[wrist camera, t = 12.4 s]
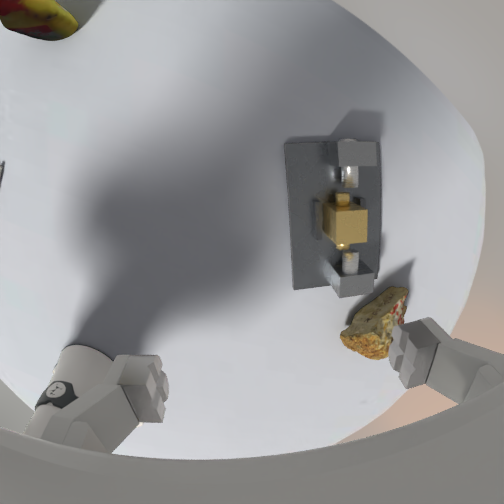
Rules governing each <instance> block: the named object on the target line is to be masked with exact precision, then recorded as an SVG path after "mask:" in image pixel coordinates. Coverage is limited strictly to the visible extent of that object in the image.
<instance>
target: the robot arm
mask: <svg viewBox="0 0 504 504" xmlns="http://www.w3.org/2000/svg"><path fill="white" fill-rule="evenodd" d="M391 336H392V337H393V339H394V340H393V342H392V343H391V344H390V346H389V352H388V355H389V361H390V364H391V366H392V368H393V369H394V370H395V371H398V372H400V374H399V379H400V380H401V382H402V384H403V385H404V387H405V388H406V389H409V388H412V387H416V386H419V385H422V384H426V385H427V386H429V387H431V388H432V389H434V390H436V391H437V392H439V393H441V394H443V395H444V396H446V397H448V398H449V399H451V400H453V401H454V402H456V403H458V404H459V405H456V406H454V407H452V408H450V409H447V410H445V411H443V412H440V413H438V414H435V415H433V416H430V417H428V418H425V419H422V420H420V421H417V422H414V423H411V424H408V425H405V426H403V427H399V428H396V429H393V430H390V431H387V432H383V433H380V434H377V435H373V436H369V437H366V438H362V439H358V440H354V441H350V442H346V443H341V444H337V445H332V446H328V447H323V448H317V449H312V450H306V451H300V452H293V453H286V454H279V455H271V456H261V457H250V458H236V459H210V460H185V459H159V458H145V457H134V456H125V455H117V454H111V453H112V452H113V451H114V450H115V449H116V448H117V447H118V446H119V445H120V444H121V443H122V441H123V440H124V439H125V438H126V437H127V436H128V435H129V434H130V433H131V432H132V431H133V430H134V429H135V428H137V427H140V426H142V425H143V423H144V422H150V423H163V418H164V414H165V409H166V408H165V406H164V402H165V401H166V400H167V399H168V394H169V384H168V379H167V376H166V374H165V373H164V372H163V371H162V370H161V368H162V361H161V359H160V356H158V355H118V356H116V357H115V359H114V361H112V360H111V359H110V358H108V357H107V356H106V355H104V354H103V353H101V352H99V351H97V350H95V349H93V348H90V347H87V346H82V345H72V346H68V347H66V348H65V349H63V351H62V352H61V354H60V357H59V360H58V363H57V365H56V367H55V368H54V370H53V376H52V378H51V380H50V382H49V385H48V387H47V388H46V390H45V391H44V392H43V393H42V395H41V397H40V398H39V400H38V401H37V404H36V406H35V413H34V414H33V416H32V418H31V420H30V421H29V423H28V425H27V427H26V429H25V430H24V432H23V434H21V433H18V432H15V431H12V430H9V429H6V428H3V427H1V426H0V504H504V354H501V353H497V352H494V351H492V350H489V349H486V348H483V347H480V346H477V345H474V344H471V343H468V342H465V341H462V340H459V339H456V338H455V339H452V338H451V337H450V336H449V335H448V334H447V333H446V332H445V331H444V330H443V329H442V328H441V327H440V326H439V325H438V324H437V323H436V322H435V321H434V320H433V319H432V318H430V317H427V318H423V319H420V320H417V321H414V322H409V323H405V324H401V325H396V326H394V328H393V330H392V335H391Z"/></svg>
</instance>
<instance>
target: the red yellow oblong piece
mask: <svg viewBox="0 0 504 504" xmlns="http://www.w3.org/2000/svg"><path fill="white" fill-rule="evenodd" d="M0 20H1V22H2V24H3V26H4V27H5V28H7V29H9V30H11V31H15V32H17V33H20V34H24V35H27V36H29V37H32V38H36V39H42V40H47V41H56V40H61V39H64V38H67V37H69V36H71V35H72V34H73V33H74V32H75V31H76V30H77V28H78V22H77V21H76V20H75V19H74V17H73V16H72V15H71V13H69V12H68V11H67V10H66V9H64V8H63V7H62V6H61V5H60V4H58V3H57V2H56V1H55V0H0Z"/></svg>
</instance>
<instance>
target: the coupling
mask: <svg viewBox="0 0 504 504" xmlns="http://www.w3.org/2000/svg"><path fill="white" fill-rule="evenodd" d="M335 194H336V202H333V203H323V225H324V233H325V234H326V235H327V236H328V237H329V238H330V239H331V240H332V241H333V242H334V243H335V244H336V248H337V249H339V250H348V249H349V248H350V244H353V243H363V242H367V218H368V210H367V209H365V208H363V207H361V206H359V205H357V204H355V203H353V202H351V201H350V193H349V192H336V193H335Z"/></svg>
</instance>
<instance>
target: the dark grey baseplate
mask: <svg viewBox="0 0 504 504" xmlns="http://www.w3.org/2000/svg"><path fill="white" fill-rule="evenodd" d="M284 151H285V163H286V176H287V190H288V206H289V222H290V240H291V260H292V283H293V289H294V290H298V289H306V288H314V287H322V286H330V285H331V286H332V287H333V289H334V290H335V292H336V293H337V295H338V297H339V298H344V297H350V296H357V295H363V294H369V293H373V289H374V279H377V277H378V263H379V245H380V214H381V181H380V150H379V142H370V141H357V139H339V141H337V142H309V143H288V144H284ZM336 192H349V193H350V201H351V202H353V203H355V204H357V205H359V206H361V207H363V208H365V209H367V210H368V218H367V242H363V243H353V244H350V248H349V249H348V250H339V249H337V248H336V244H335V243H334V242H333V241H332V240H331V239H330V238H329V237H328V236H327V235H326V234H325V233H324V225H323V203H333V202H336V194H335V193H336Z"/></svg>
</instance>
